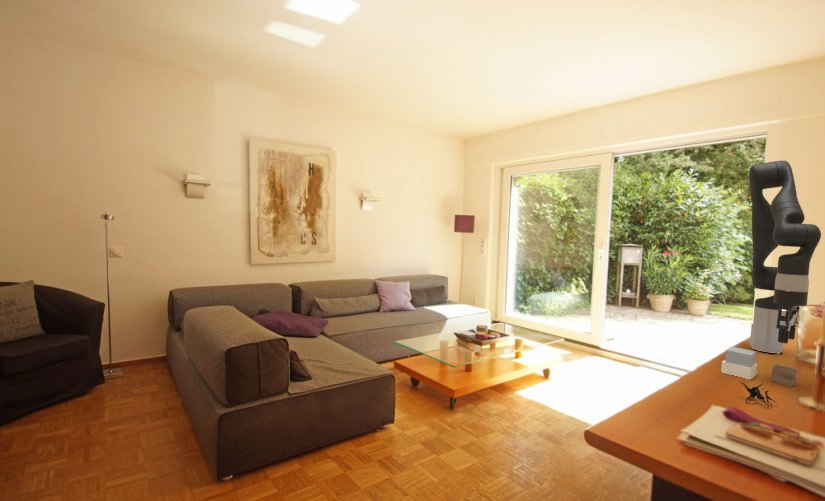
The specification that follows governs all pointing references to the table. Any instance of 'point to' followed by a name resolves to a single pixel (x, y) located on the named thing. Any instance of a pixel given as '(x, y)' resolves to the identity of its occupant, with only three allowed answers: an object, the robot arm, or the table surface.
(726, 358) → the grey rectangular block
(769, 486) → the table surface
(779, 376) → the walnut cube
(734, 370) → the base block
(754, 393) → the creature
